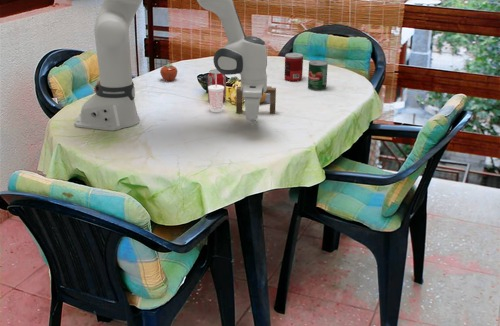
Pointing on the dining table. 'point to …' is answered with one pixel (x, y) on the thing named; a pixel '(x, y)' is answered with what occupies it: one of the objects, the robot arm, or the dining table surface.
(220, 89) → the beverage cup
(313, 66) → the canned tomato
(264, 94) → the ball
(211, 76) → the soda can
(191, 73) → the dining table surface
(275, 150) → the dining table surface
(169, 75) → the tomato
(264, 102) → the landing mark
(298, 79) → the canned food
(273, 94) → the bridge
